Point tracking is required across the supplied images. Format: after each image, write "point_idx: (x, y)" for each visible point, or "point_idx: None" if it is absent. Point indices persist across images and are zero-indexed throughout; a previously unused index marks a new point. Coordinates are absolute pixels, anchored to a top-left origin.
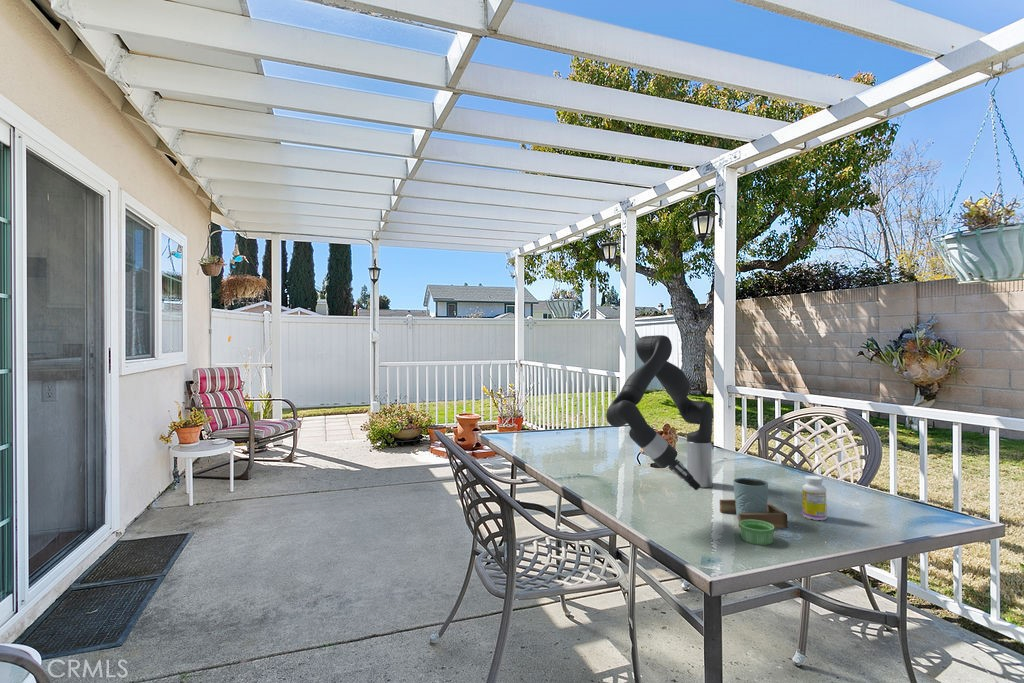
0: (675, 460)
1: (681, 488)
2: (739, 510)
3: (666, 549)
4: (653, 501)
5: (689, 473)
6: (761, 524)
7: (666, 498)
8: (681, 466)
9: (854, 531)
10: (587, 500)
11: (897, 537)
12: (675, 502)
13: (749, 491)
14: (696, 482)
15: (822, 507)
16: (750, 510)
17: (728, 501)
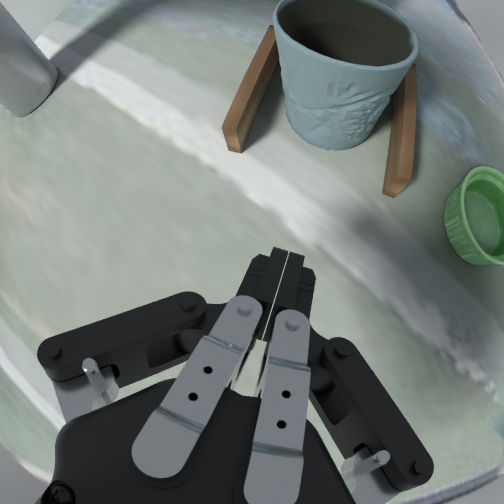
0: (159, 481)
1: (23, 145)
2: (336, 131)
3: (437, 493)
4: (57, 303)
5: (405, 422)
6: (473, 179)
7: (51, 239)
8: (346, 496)
9: (425, 21)
10: (27, 463)
11: (447, 9)
12: (88, 236)
13: (402, 77)
14: (299, 281)
15: None
16: (377, 118)
17: (245, 108)
